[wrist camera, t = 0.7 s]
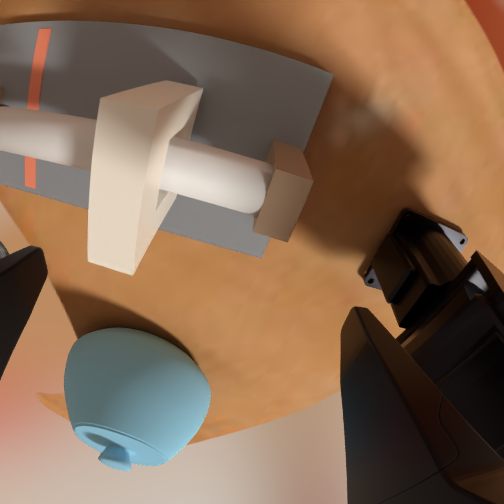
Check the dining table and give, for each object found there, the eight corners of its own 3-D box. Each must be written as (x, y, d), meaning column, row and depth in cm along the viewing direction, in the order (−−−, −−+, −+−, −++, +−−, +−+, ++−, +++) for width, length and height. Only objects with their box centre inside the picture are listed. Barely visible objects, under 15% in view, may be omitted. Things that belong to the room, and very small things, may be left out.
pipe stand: (329, 73, 15) (361, 80, 10) (261, 247, 22) (259, 314, 16) (8, 24, 12) (-57, 31, 7) (-4, 174, 19) (-55, 211, 13)
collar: (203, 88, 14) (159, 108, 8) (176, 197, 18) (132, 275, 12) (166, 80, 14) (100, 98, 8) (143, 188, 18) (88, 261, 12)
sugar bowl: (242, 366, 29) (233, 480, 20) (175, 415, 36) (160, 495, 27) (97, 290, 25) (38, 403, 15) (68, 362, 32) (33, 443, 22)
